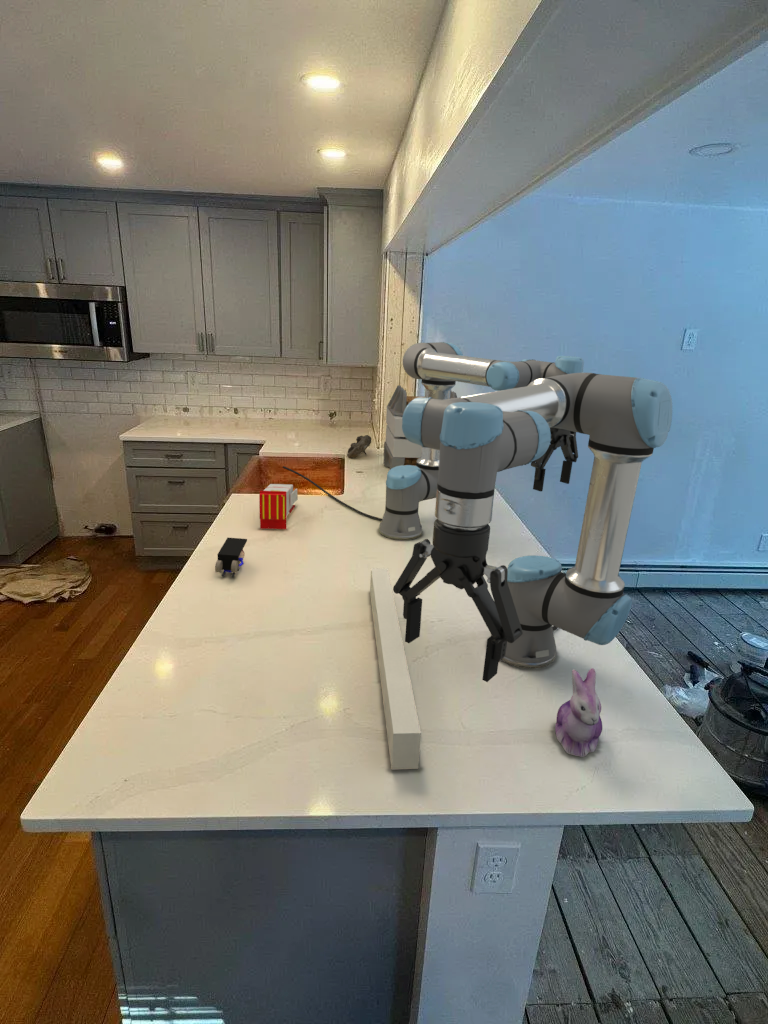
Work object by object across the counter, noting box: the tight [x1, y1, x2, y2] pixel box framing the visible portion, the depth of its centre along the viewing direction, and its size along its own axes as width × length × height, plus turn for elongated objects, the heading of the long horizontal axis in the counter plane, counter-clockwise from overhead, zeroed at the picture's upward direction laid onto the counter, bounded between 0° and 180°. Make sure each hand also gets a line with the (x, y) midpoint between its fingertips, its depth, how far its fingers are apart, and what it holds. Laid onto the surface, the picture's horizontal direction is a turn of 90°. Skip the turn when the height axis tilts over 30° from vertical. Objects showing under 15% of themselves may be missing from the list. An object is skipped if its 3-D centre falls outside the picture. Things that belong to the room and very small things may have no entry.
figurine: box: [554, 667, 603, 758], centre depth 104 cm, size 9×10×15 cm
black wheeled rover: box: [214, 537, 248, 578], centre depth 166 cm, size 7×8×15 cm
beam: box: [369, 567, 422, 771], centre depth 127 cm, size 64×5×8 cm, turn 5°
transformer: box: [383, 384, 458, 470], centre depth 268 cm, size 34×33×41 cm
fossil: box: [347, 434, 372, 459], centre depth 303 cm, size 22×10×15 cm
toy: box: [258, 483, 299, 530], centre depth 210 cm, size 12×13×30 cm
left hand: (551, 486), depth 165 cm, fingers open, 13 cm apart
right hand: (449, 657), depth 83 cm, fingers open, 13 cm apart
